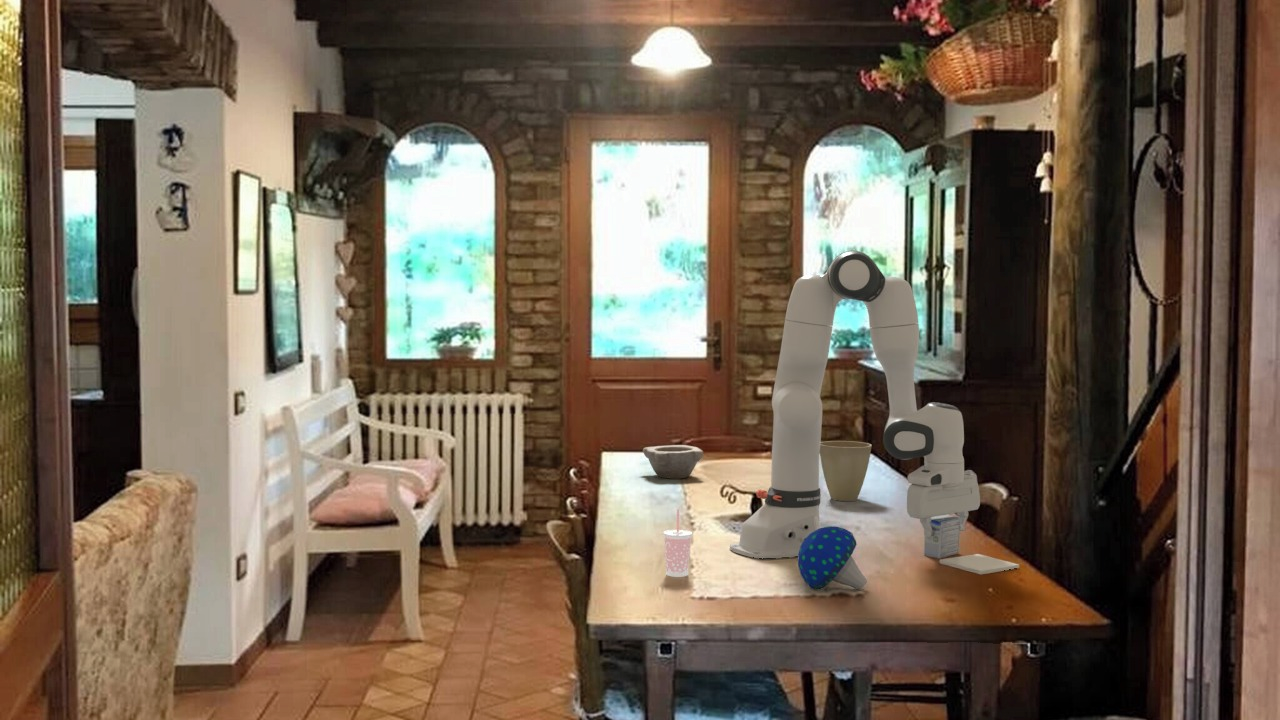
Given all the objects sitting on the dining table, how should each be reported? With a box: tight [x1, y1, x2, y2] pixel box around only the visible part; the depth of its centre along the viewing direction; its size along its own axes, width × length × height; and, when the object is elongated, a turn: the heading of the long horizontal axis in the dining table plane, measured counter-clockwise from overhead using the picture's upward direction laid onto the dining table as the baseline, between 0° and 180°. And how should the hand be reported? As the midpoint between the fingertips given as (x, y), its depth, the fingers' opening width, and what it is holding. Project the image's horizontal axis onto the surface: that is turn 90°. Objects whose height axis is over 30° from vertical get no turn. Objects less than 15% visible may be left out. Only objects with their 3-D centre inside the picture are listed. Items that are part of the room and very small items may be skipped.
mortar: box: [642, 444, 704, 480], centre depth 389 cm, size 17×17×9 cm
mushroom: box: [797, 525, 868, 591], centre depth 252 cm, size 14×14×15 cm
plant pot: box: [819, 440, 872, 502], centre depth 353 cm, size 15×15×16 cm
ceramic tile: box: [939, 553, 1020, 575], centre depth 274 cm, size 12×12×1 cm
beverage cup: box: [663, 508, 693, 578], centre depth 262 cm, size 6×6×14 cm
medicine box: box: [923, 514, 961, 560], centre depth 284 cm, size 8×4×9 cm, turn 133°
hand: (944, 533), depth 283 cm, fingers open, 8 cm apart
